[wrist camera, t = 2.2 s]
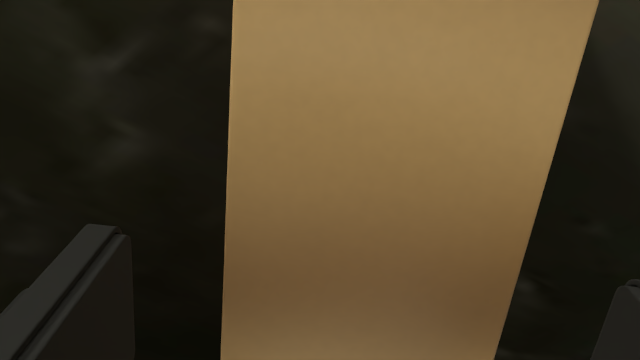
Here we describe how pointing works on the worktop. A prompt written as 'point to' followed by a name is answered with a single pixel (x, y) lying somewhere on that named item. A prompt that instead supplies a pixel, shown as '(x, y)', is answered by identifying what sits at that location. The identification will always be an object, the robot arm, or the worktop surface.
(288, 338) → the wooden block
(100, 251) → the robot arm
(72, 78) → the worktop surface
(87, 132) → the worktop surface
